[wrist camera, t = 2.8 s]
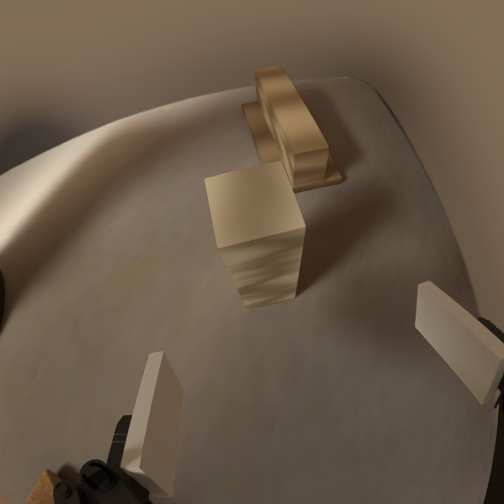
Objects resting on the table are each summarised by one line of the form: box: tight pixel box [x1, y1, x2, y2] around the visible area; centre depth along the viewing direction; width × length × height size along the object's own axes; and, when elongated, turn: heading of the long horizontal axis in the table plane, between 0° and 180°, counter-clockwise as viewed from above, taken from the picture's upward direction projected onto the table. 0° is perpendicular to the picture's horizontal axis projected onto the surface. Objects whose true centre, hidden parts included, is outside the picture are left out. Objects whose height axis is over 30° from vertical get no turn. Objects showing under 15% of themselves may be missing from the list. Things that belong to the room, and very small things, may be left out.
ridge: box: [242, 66, 342, 193], centre depth 32 cm, size 16×8×6 cm, turn 13°
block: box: [205, 161, 306, 310], centre depth 22 cm, size 4×4×14 cm
